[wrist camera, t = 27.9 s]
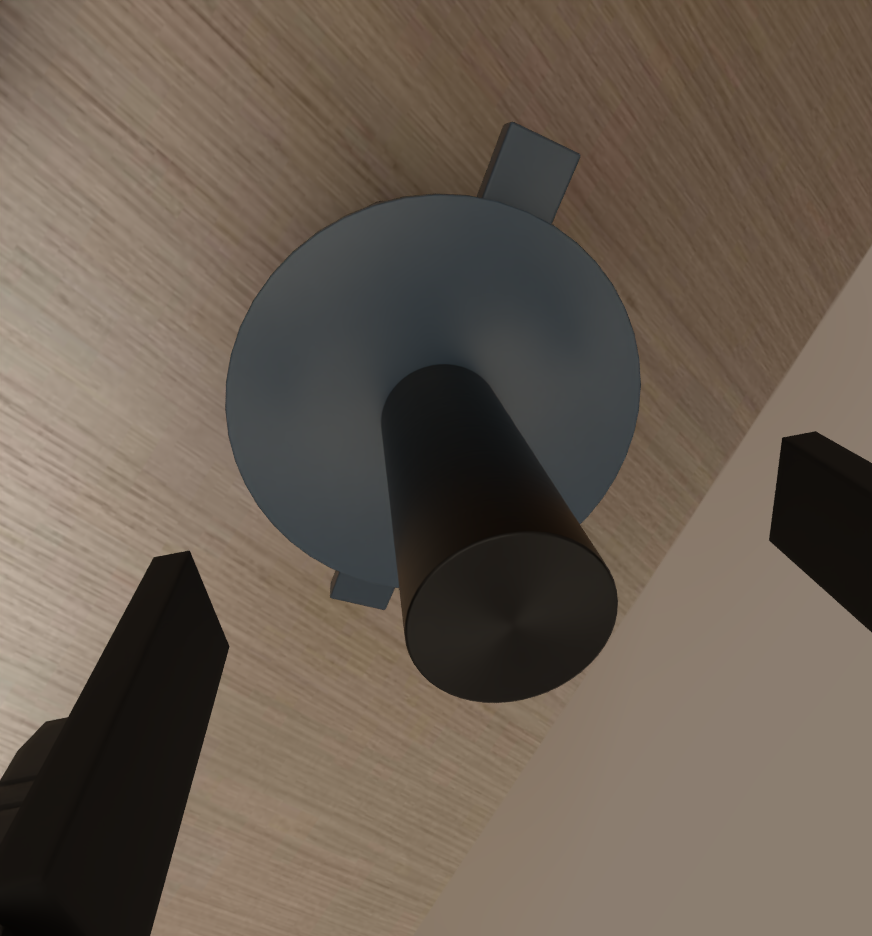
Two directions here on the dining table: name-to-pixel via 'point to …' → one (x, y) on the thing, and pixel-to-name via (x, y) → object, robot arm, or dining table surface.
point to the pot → (516, 184)
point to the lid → (446, 429)
